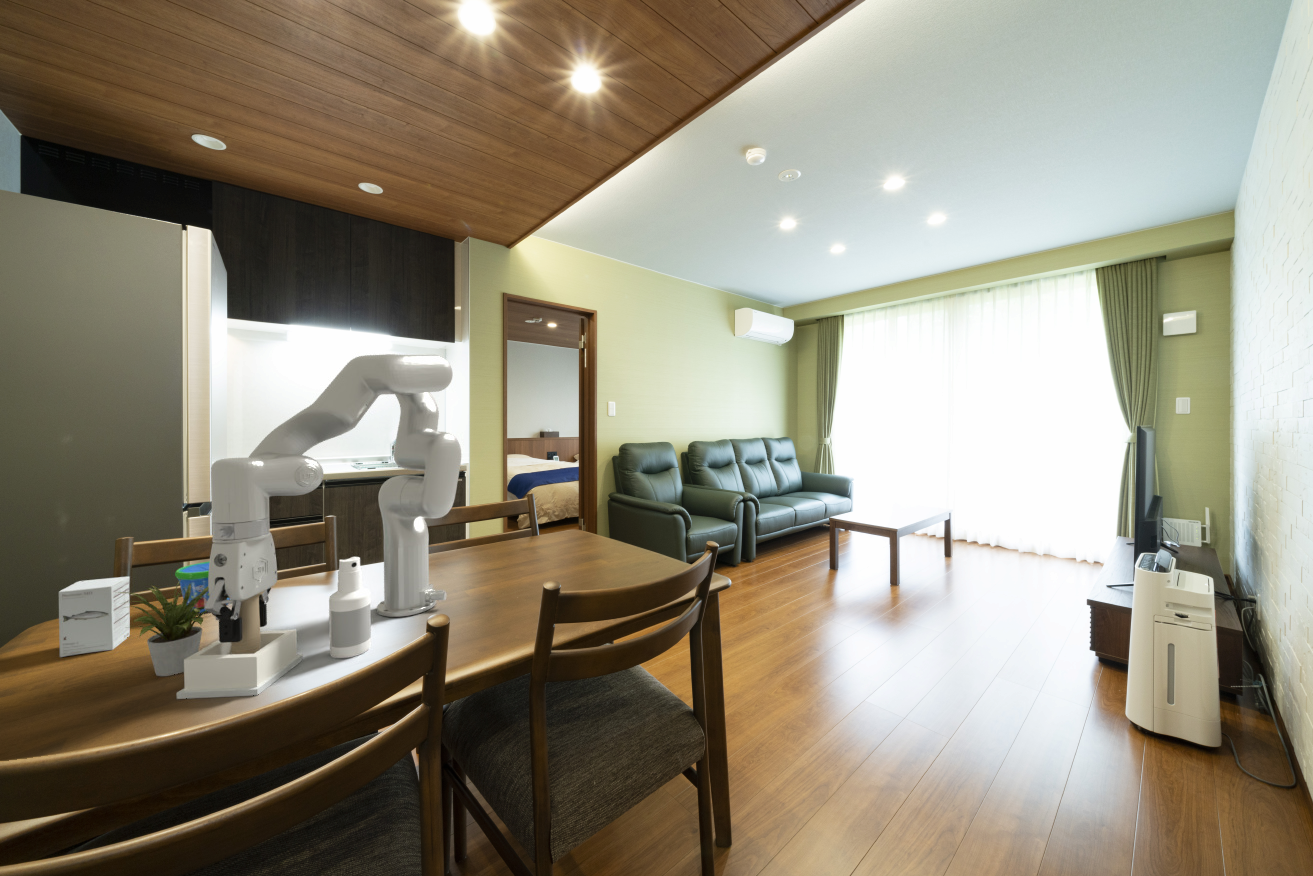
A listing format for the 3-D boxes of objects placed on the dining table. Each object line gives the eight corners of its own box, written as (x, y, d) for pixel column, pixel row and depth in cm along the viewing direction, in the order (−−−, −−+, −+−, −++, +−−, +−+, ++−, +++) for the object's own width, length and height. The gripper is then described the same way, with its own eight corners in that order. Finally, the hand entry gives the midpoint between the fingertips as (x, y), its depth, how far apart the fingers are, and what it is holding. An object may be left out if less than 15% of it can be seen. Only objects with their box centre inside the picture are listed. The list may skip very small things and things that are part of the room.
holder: (302, 659, 92) (302, 627, 91) (257, 695, 80) (256, 659, 80) (233, 662, 90) (232, 630, 90) (176, 698, 78) (175, 662, 78)
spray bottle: (340, 662, 91) (339, 566, 90) (322, 653, 94) (321, 560, 94) (378, 648, 96) (377, 557, 96) (359, 639, 100) (358, 552, 99)
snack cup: (163, 610, 114) (162, 567, 114) (219, 595, 124) (218, 556, 123) (194, 623, 107) (193, 577, 107) (251, 606, 117) (251, 564, 116)
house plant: (83, 701, 78) (80, 599, 77) (134, 661, 90) (131, 573, 90) (199, 682, 83) (197, 587, 83) (231, 647, 96) (230, 565, 95)
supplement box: (57, 658, 91) (55, 591, 91) (80, 642, 98) (78, 579, 97) (113, 650, 95) (111, 585, 94) (132, 635, 101) (130, 574, 101)
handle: (270, 661, 89) (272, 579, 89) (252, 678, 83) (254, 589, 83) (238, 664, 88) (240, 580, 88) (217, 681, 81) (219, 591, 81)
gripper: (227, 541, 76) (229, 656, 77) (296, 519, 93) (298, 613, 94) (174, 542, 75) (177, 658, 76) (253, 520, 92) (255, 615, 93)
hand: (244, 632), depth 85 cm, fingers open, 5 cm apart
